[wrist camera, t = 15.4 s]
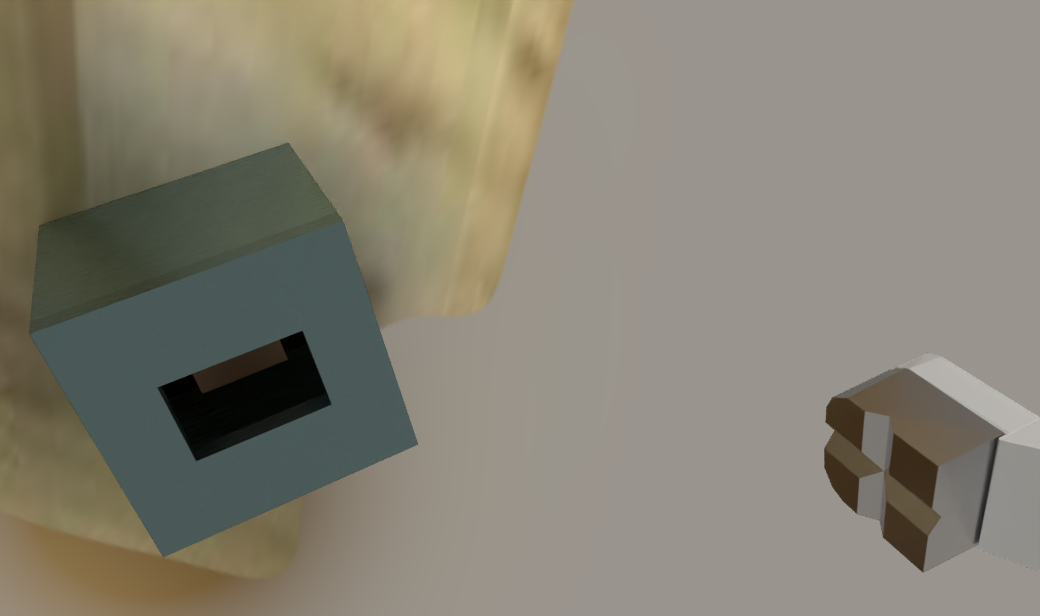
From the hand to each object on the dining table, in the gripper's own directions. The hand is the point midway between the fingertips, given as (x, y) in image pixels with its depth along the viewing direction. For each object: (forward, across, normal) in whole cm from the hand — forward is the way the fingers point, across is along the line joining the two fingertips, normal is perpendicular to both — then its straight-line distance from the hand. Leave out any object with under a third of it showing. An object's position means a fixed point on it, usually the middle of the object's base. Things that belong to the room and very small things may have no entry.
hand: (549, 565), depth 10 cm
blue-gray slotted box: (+36, +4, +13) cm, 39 cm away
